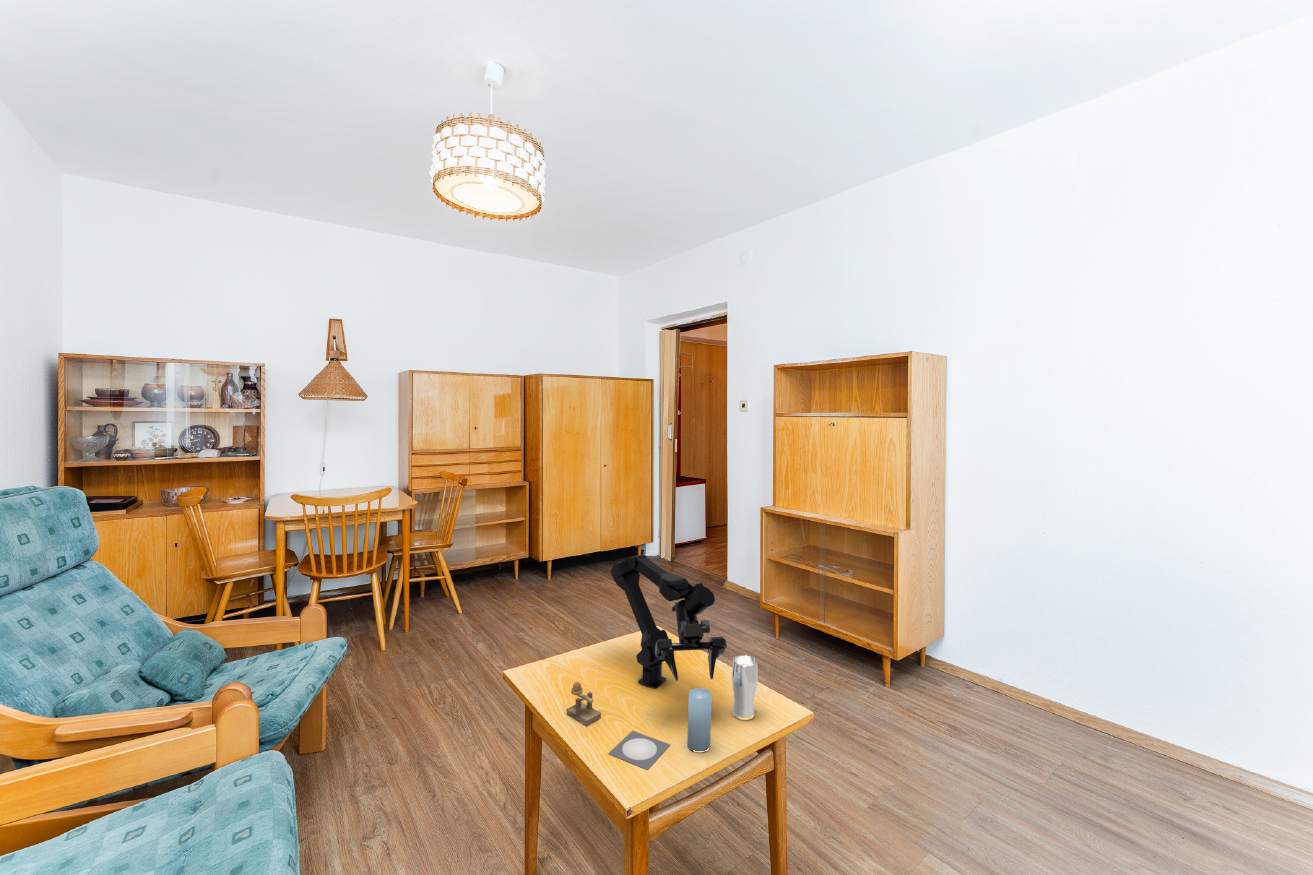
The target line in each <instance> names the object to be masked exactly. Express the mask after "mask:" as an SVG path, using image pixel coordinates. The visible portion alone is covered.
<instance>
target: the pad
mask: <svg viewBox="0 0 1313 875" xmlns="http://www.w3.org/2000/svg"><path fill="white" fill-rule="evenodd" d="M670 746H671V743H667V742H664V741H661V740H659V739H657V738H654V737H651V736H649V735H646V734H643V733H640V732H638V731H635V730H631V731H630V732H629V733H628V734H627V735H626V736H625V737H624V738H623V739H622V740H621V741H619V743H618V744H616V746H614V747H613V748H612V749H611V750H610V751H609V752H608V753H607V755H609V756H613V757H615V758H616V759H620V760H622V761H624V762H627V763H629V764H631V765H634V766H637V767H638V768H641V769H643V770H646V771H648V770H649V769H651V767H652V766H653V765H654V763H656V761H658V759H659V758H660V757H661V756H662V755H663V754H664V752H666V750H667V749H668V748H669V747H670Z"/></svg>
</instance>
